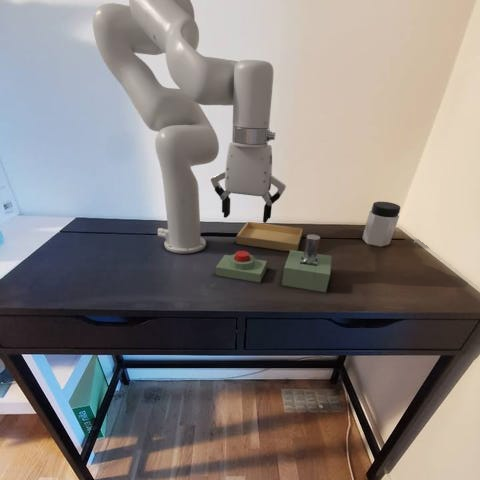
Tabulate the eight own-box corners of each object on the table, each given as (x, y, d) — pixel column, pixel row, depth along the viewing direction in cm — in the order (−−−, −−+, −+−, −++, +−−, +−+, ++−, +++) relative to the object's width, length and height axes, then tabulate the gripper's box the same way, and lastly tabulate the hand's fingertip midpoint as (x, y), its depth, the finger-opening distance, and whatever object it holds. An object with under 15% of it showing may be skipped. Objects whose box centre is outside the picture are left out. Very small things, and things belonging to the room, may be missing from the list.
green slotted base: (281, 285, 79) (284, 267, 76) (288, 266, 87) (290, 249, 84) (325, 292, 77) (330, 274, 74) (327, 272, 85) (331, 255, 82)
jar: (377, 248, 100) (389, 210, 93) (357, 239, 105) (367, 203, 98) (394, 243, 104) (407, 206, 97) (373, 235, 109) (384, 200, 102)
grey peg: (296, 281, 81) (303, 238, 74) (298, 273, 84) (305, 232, 77) (313, 284, 80) (322, 241, 73) (314, 276, 83) (323, 234, 76)
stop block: (215, 275, 82) (215, 261, 79) (224, 262, 88) (224, 249, 86) (260, 282, 79) (261, 268, 77) (266, 269, 86) (267, 255, 83)
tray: (236, 243, 99) (236, 235, 97) (247, 228, 110) (247, 221, 109) (296, 252, 95) (297, 244, 94) (301, 236, 106) (302, 228, 105)
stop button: (233, 261, 81) (233, 255, 80) (237, 256, 83) (237, 249, 82) (247, 263, 80) (247, 257, 79) (250, 257, 83) (250, 251, 82)
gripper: (293, 138, 67) (283, 218, 77) (216, 132, 70) (216, 209, 80) (289, 142, 61) (278, 228, 71) (205, 135, 64) (206, 219, 74)
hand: (245, 218), depth 75 cm, fingers open, 9 cm apart
